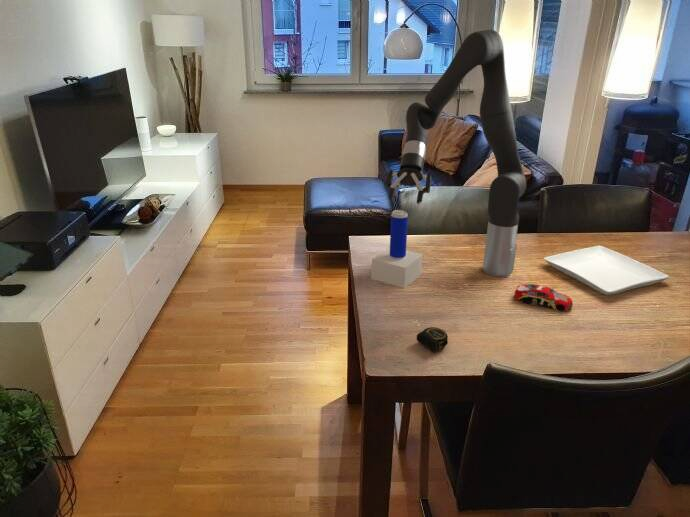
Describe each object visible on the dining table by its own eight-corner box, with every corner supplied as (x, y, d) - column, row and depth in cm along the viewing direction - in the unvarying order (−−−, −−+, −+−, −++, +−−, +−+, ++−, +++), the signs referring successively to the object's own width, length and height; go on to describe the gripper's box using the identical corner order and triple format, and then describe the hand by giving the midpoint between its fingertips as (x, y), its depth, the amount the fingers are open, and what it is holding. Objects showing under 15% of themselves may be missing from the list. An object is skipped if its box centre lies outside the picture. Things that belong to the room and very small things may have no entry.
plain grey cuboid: (421, 273, 173) (422, 254, 170) (404, 288, 164) (405, 267, 161) (389, 265, 179) (390, 246, 176) (371, 278, 170) (371, 259, 167)
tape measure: (414, 343, 136) (415, 331, 135) (434, 335, 140) (435, 323, 138) (432, 356, 131) (433, 343, 129) (452, 347, 134) (453, 335, 133)
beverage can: (405, 253, 171) (407, 209, 164) (405, 260, 166) (408, 215, 160) (389, 252, 171) (391, 209, 165) (389, 259, 166) (391, 214, 160)
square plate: (606, 303, 156) (609, 291, 154) (540, 267, 179) (542, 256, 177) (668, 285, 166) (671, 274, 165) (598, 253, 189) (600, 243, 187)
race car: (573, 304, 155) (576, 290, 153) (570, 315, 150) (573, 299, 147) (516, 292, 162) (519, 277, 160) (512, 301, 156) (514, 286, 154)
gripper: (390, 150, 172) (381, 194, 166) (434, 153, 168) (425, 198, 162) (393, 162, 178) (384, 204, 173) (435, 165, 174) (427, 209, 169)
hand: (404, 201), depth 168 cm, fingers open, 8 cm apart
